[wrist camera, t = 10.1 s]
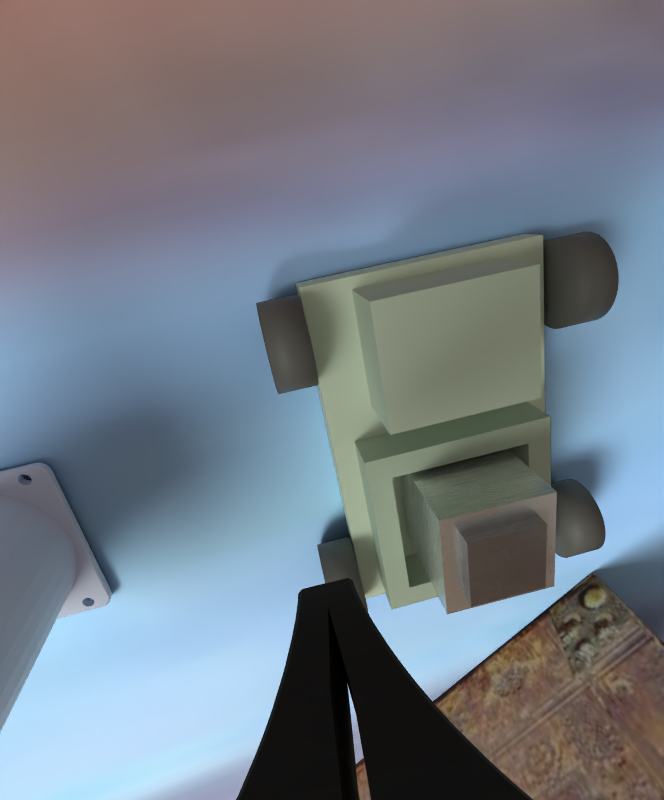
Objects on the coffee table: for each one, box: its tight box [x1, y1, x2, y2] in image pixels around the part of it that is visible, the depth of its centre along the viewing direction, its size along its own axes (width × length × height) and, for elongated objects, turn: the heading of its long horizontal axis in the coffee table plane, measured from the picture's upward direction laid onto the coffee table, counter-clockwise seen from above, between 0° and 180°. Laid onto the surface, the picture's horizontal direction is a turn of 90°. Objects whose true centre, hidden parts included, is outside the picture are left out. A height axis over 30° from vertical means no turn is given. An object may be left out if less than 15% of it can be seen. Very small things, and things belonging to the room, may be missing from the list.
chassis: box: [256, 232, 618, 612], centre depth 20 cm, size 13×16×4 cm
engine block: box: [400, 449, 557, 614], centre depth 19 cm, size 4×4×6 cm
